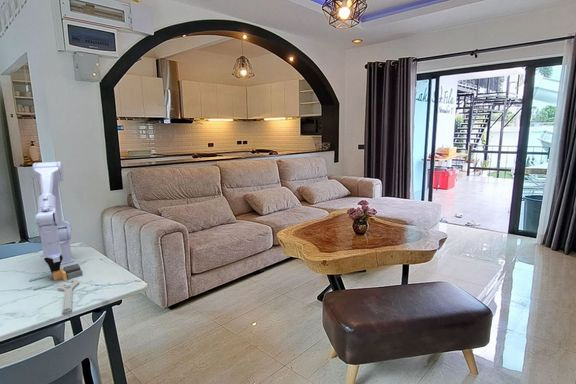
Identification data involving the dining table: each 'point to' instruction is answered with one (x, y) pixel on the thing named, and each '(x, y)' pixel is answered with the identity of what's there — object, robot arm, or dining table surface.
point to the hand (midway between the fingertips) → (55, 274)
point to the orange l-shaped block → (60, 275)
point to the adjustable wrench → (68, 296)
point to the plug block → (72, 268)
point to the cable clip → (74, 274)
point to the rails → (41, 286)
